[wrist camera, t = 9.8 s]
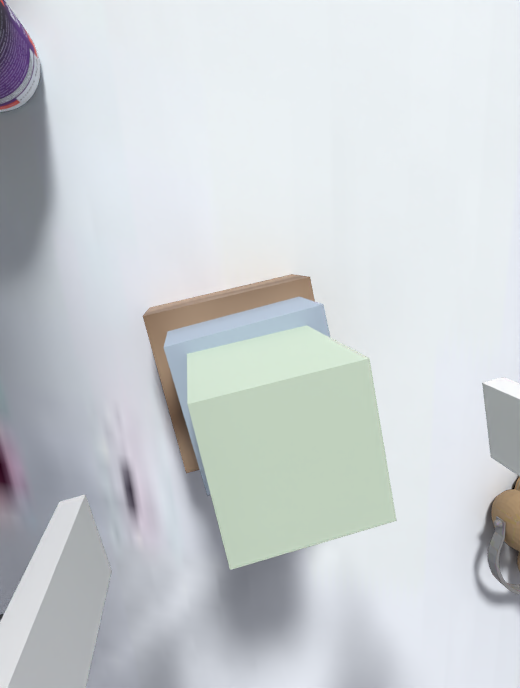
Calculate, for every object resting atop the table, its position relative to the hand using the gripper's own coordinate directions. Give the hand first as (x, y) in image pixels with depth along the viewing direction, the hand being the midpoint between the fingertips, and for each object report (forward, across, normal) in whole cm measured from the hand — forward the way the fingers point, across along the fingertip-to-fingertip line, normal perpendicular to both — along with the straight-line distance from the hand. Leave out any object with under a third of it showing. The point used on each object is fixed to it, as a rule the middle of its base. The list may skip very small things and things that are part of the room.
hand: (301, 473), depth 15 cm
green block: (+9, 0, 0) cm, 9 cm away
